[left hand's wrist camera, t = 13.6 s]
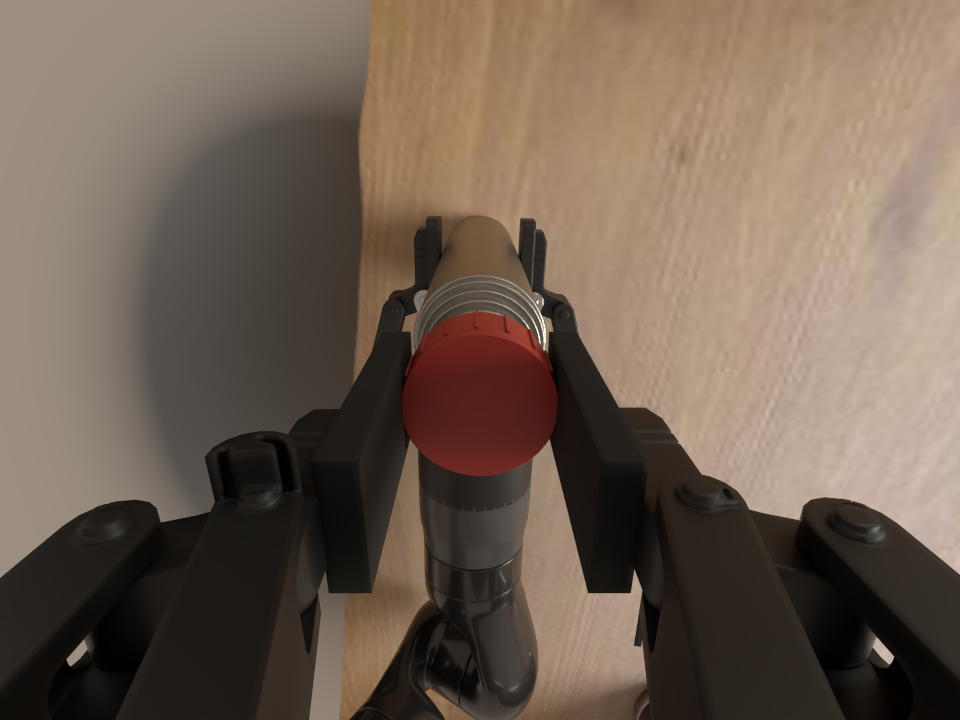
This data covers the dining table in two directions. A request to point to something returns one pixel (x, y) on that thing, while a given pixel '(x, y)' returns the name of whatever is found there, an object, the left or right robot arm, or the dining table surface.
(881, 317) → the dining table surface
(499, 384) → the cap
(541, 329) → the bottle
